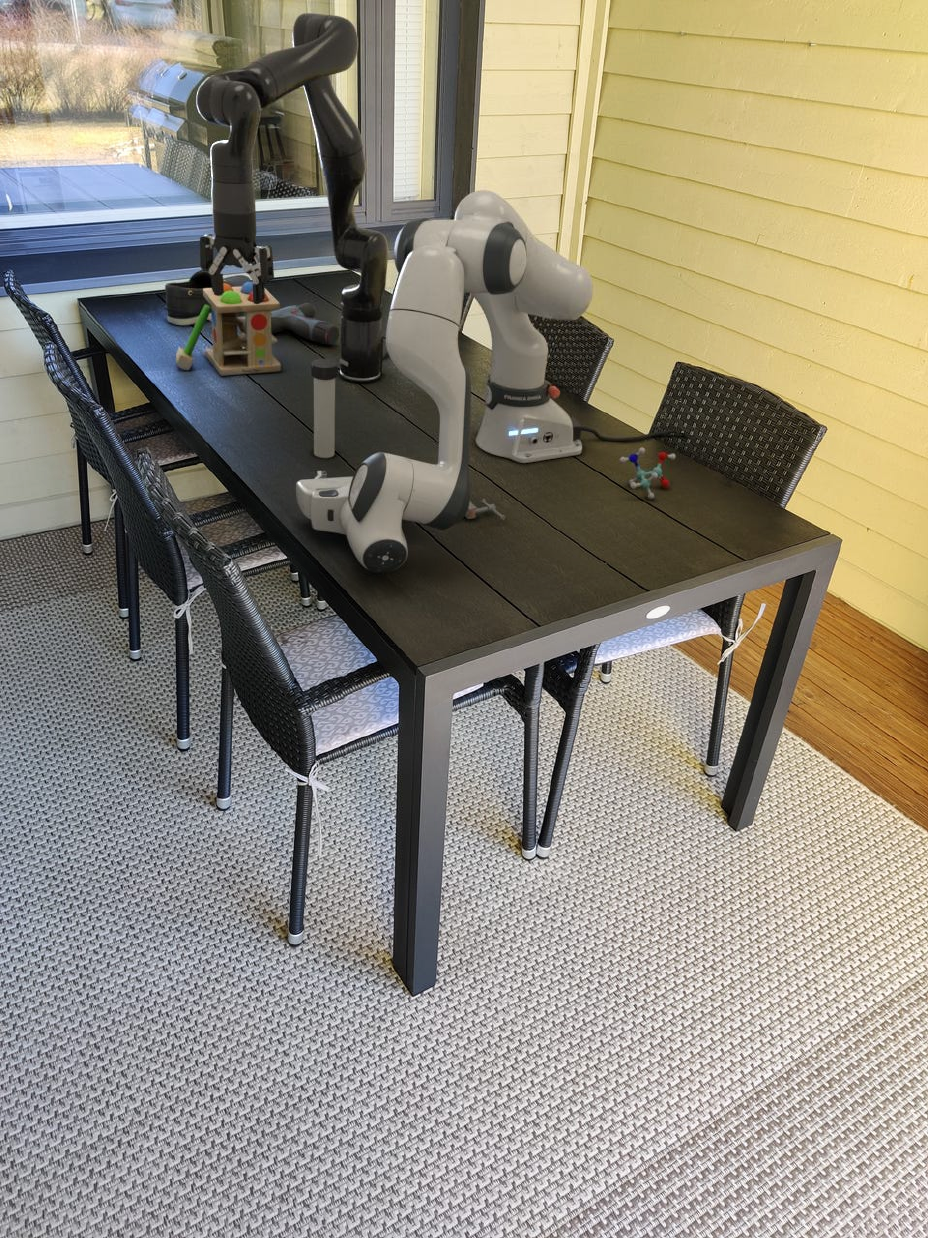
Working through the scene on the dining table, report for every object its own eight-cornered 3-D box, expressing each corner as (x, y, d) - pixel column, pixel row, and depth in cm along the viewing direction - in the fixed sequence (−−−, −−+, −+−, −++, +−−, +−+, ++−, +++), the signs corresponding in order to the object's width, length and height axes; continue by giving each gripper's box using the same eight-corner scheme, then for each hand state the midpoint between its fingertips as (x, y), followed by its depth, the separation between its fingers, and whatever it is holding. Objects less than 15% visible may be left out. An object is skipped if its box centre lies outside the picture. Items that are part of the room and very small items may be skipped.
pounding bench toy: (183, 379, 220) (176, 299, 210) (169, 357, 231) (162, 280, 221) (282, 371, 230) (280, 294, 220) (264, 350, 240) (262, 276, 230)
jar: (310, 454, 195) (309, 365, 184) (321, 447, 198) (321, 360, 187) (327, 459, 193) (327, 370, 183) (338, 452, 196) (339, 364, 186)
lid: (306, 376, 185) (306, 363, 184) (320, 368, 189) (320, 356, 188) (328, 382, 184) (328, 369, 182) (342, 374, 187) (342, 362, 186)
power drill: (365, 313, 253) (305, 296, 261) (318, 330, 240) (256, 311, 248) (364, 334, 256) (305, 316, 264) (318, 351, 243) (257, 332, 251)
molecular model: (677, 492, 186) (662, 441, 184) (629, 506, 189) (614, 457, 188) (684, 485, 196) (670, 436, 195) (639, 499, 200) (624, 451, 198)
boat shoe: (273, 303, 272) (271, 265, 267) (185, 327, 248) (181, 285, 243) (238, 295, 278) (236, 257, 272) (149, 317, 254) (144, 276, 249)
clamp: (419, 485, 182) (465, 477, 187) (418, 496, 183) (464, 487, 188) (459, 522, 172) (507, 512, 176) (457, 533, 173) (505, 523, 177)
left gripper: (279, 209, 175) (282, 301, 184) (212, 197, 179) (217, 287, 188) (257, 217, 169) (260, 311, 178) (187, 203, 173) (194, 296, 182)
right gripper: (424, 488, 166) (404, 453, 177) (303, 496, 160) (290, 459, 171) (422, 521, 169) (402, 484, 180) (304, 530, 164) (291, 492, 174)
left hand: (238, 298), depth 183 cm, fingers open, 8 cm apart
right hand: (347, 472), depth 175 cm, fingers open, 8 cm apart
